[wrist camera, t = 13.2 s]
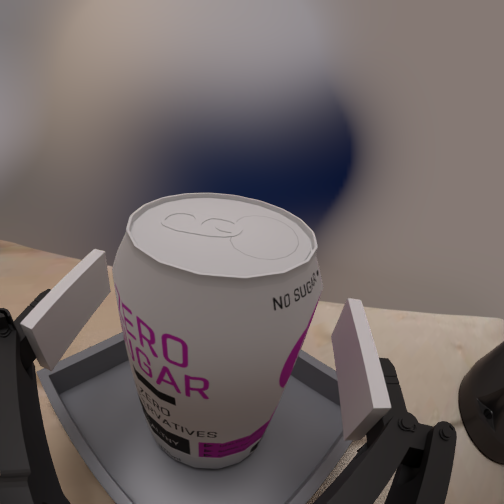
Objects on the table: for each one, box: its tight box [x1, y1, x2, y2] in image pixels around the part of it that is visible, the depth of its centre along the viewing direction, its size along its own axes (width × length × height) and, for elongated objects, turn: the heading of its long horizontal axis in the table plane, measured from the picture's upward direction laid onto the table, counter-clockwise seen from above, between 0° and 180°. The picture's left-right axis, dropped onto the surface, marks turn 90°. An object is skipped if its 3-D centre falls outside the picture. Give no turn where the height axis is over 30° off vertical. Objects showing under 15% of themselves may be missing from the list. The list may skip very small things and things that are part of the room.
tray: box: [37, 332, 353, 504], centre depth 17 cm, size 18×18×4 cm
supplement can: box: [112, 193, 323, 469], centre depth 14 cm, size 8×8×15 cm
